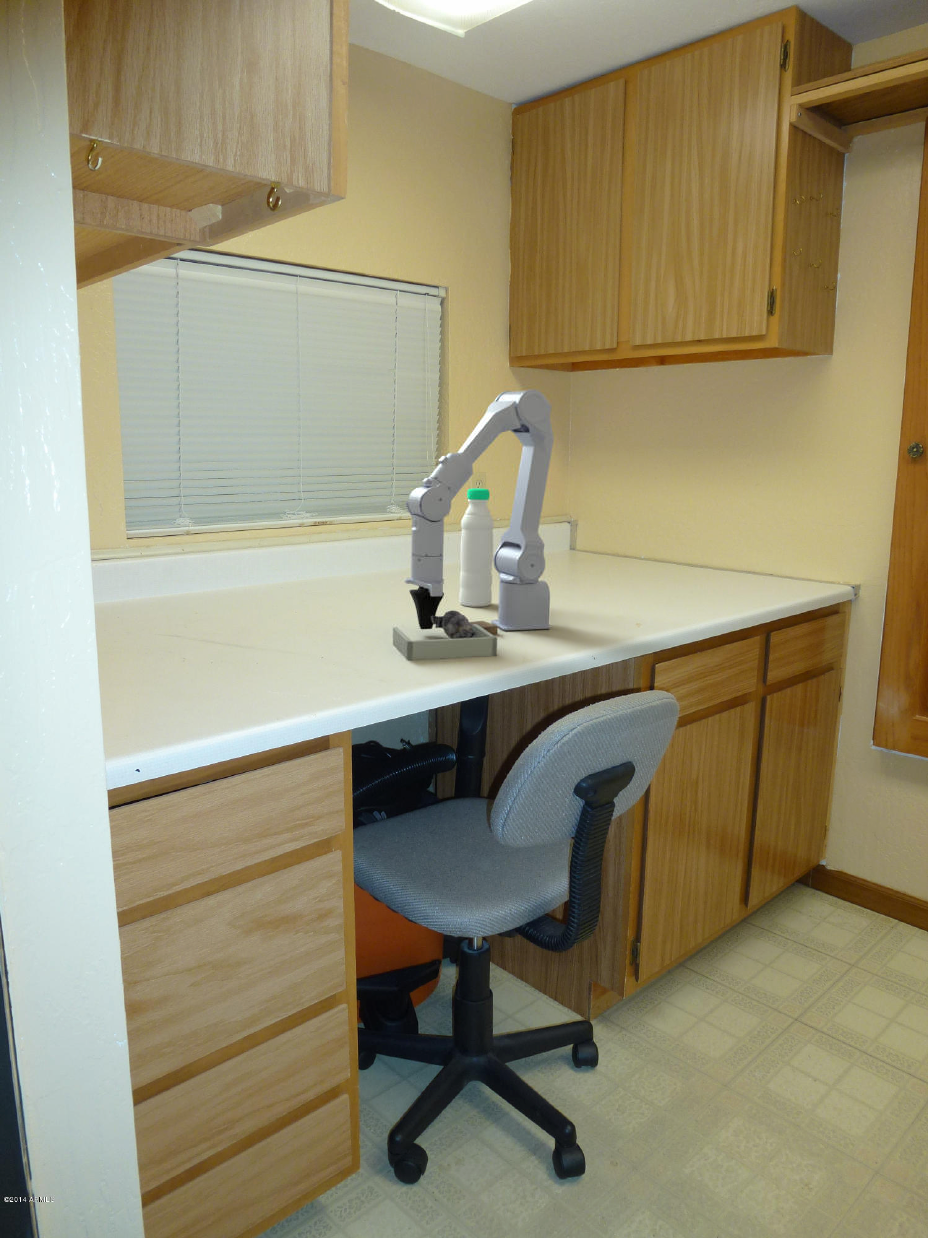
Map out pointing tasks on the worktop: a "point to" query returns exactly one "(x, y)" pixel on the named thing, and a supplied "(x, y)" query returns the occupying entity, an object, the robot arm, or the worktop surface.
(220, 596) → the worktop surface
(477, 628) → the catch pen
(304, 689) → the worktop surface
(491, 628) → the walnut tile
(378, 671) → the worktop surface
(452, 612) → the seashell
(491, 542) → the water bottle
